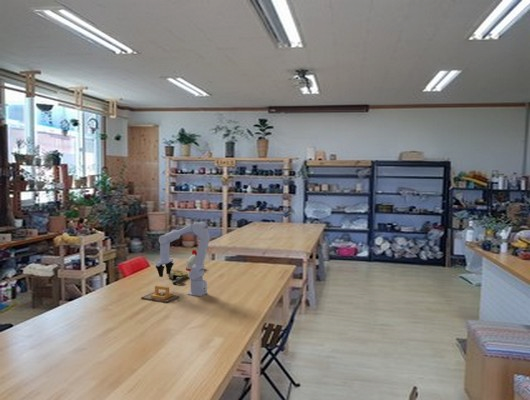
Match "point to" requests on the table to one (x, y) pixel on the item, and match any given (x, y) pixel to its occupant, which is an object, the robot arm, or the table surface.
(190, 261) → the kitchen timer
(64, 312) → the table surface
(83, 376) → the table surface
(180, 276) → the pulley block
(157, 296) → the link
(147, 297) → the walnut board
